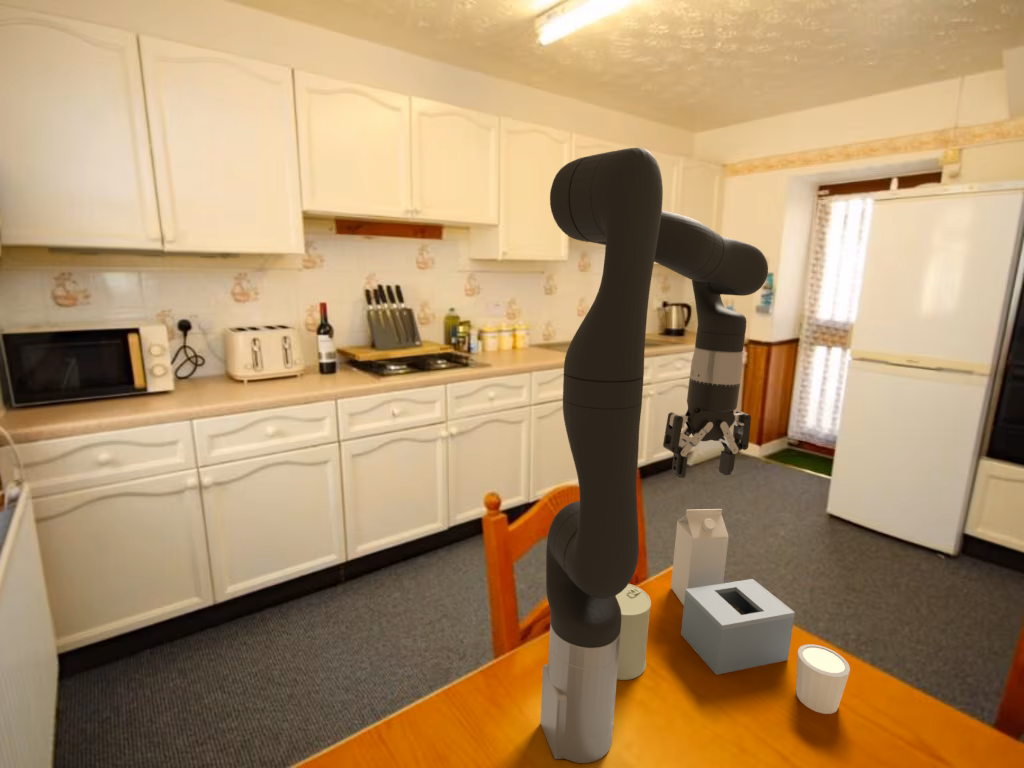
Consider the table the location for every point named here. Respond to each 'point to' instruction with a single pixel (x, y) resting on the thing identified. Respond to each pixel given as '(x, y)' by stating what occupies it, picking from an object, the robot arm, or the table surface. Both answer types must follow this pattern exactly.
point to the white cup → (820, 678)
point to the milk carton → (699, 551)
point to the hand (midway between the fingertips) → (702, 474)
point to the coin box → (737, 625)
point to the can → (633, 631)
